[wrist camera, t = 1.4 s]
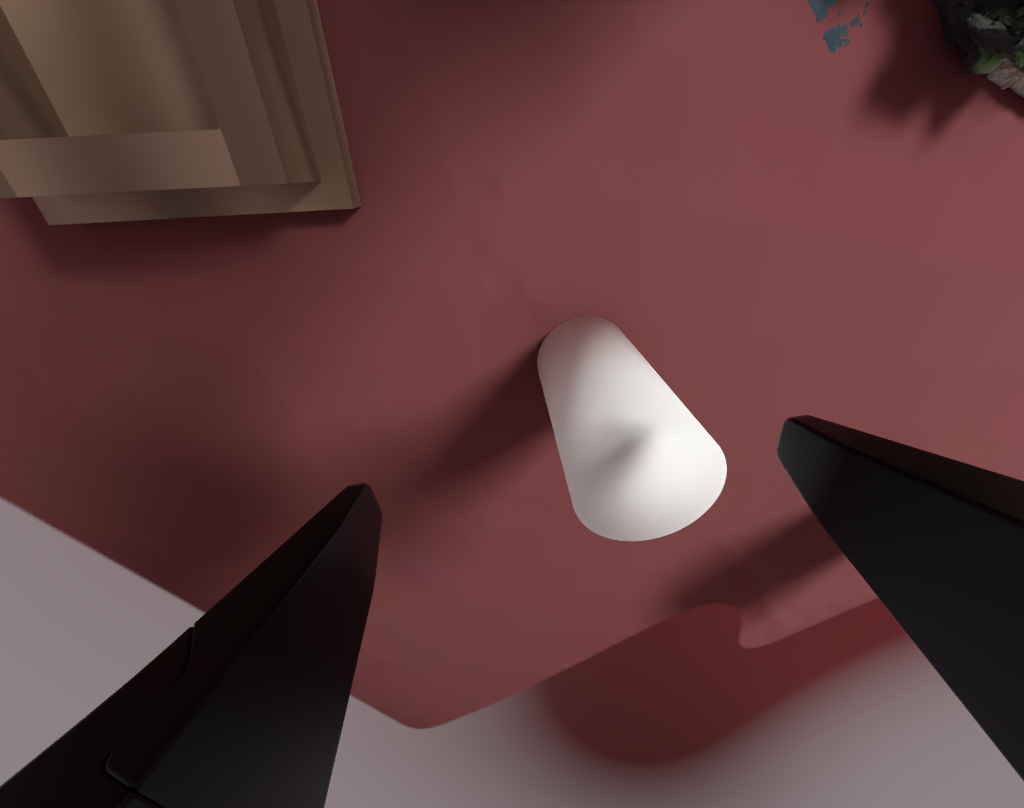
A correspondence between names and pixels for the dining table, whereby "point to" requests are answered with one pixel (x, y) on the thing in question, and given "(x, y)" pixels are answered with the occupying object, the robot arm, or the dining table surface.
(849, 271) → the dining table surface
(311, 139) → the holder
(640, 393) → the white tapered cylinder
